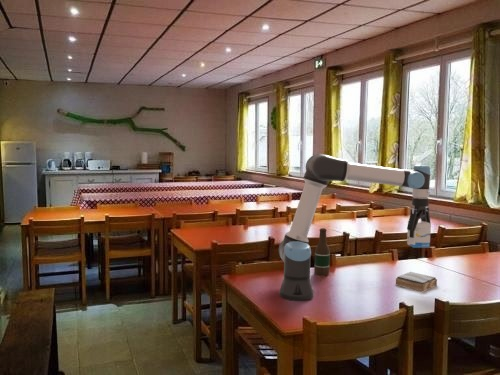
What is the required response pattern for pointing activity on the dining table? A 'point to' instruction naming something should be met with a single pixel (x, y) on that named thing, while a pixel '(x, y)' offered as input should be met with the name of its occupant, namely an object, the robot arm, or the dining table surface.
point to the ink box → (421, 235)
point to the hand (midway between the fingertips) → (418, 242)
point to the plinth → (416, 281)
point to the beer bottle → (322, 255)
